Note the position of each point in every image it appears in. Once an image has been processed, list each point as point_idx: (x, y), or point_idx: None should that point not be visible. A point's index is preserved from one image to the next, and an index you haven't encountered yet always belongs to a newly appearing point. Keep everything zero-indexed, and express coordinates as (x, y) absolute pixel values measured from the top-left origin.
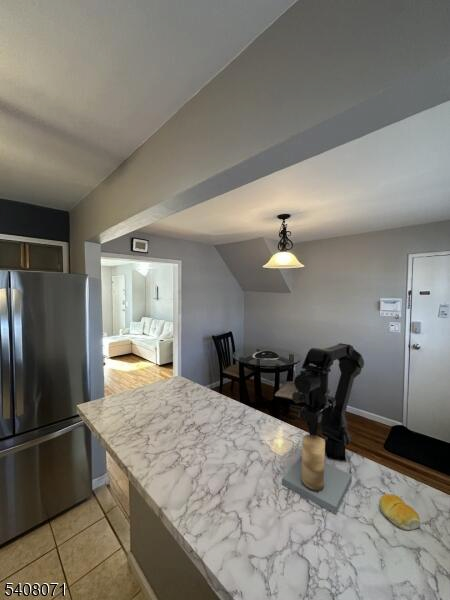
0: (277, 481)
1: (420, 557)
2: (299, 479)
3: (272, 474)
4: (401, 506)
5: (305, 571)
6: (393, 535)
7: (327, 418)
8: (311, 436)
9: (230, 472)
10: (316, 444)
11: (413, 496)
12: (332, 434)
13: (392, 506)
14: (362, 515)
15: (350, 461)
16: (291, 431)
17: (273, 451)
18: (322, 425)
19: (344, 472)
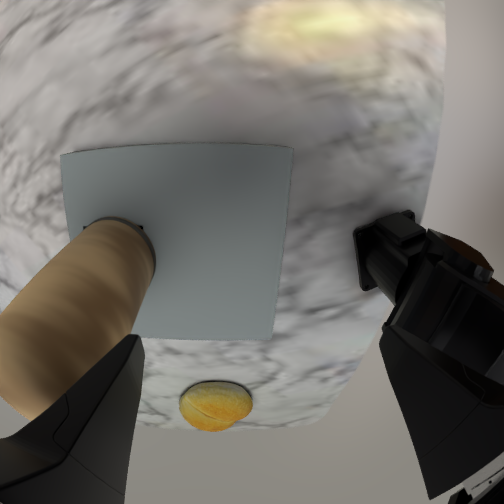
0: (75, 131)
1: (147, 414)
2: (99, 210)
3: (94, 94)
4: (206, 426)
5: None
6: (155, 396)
7: (409, 425)
8: (49, 390)
9: (35, 13)
10: (25, 410)
11: (298, 405)
12: (399, 319)
13: (202, 412)
14: (153, 361)
15: (370, 296)
16: (439, 61)
17: (247, 16)
18: (388, 347)
19: (268, 321)
